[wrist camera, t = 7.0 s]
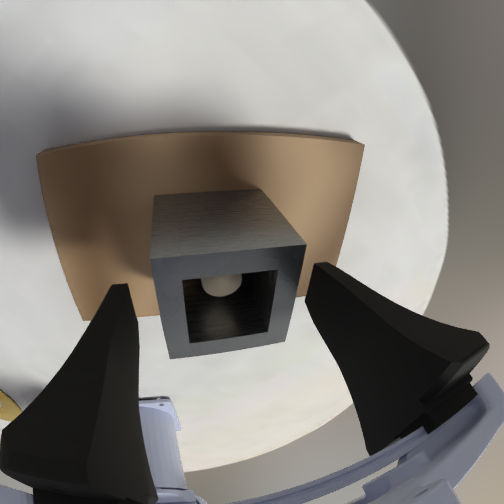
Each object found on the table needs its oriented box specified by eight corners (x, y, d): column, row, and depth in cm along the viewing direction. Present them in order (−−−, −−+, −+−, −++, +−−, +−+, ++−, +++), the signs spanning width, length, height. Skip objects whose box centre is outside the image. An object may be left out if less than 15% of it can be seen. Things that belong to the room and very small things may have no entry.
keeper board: (85, 309, 15) (75, 367, 12) (44, 150, 10) (-1, 182, 6) (321, 282, 20) (353, 328, 16) (354, 140, 14) (409, 166, 11)
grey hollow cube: (163, 283, 15) (170, 359, 11) (154, 195, 12) (150, 258, 8) (253, 273, 16) (285, 341, 12) (261, 189, 13) (306, 244, 9)
